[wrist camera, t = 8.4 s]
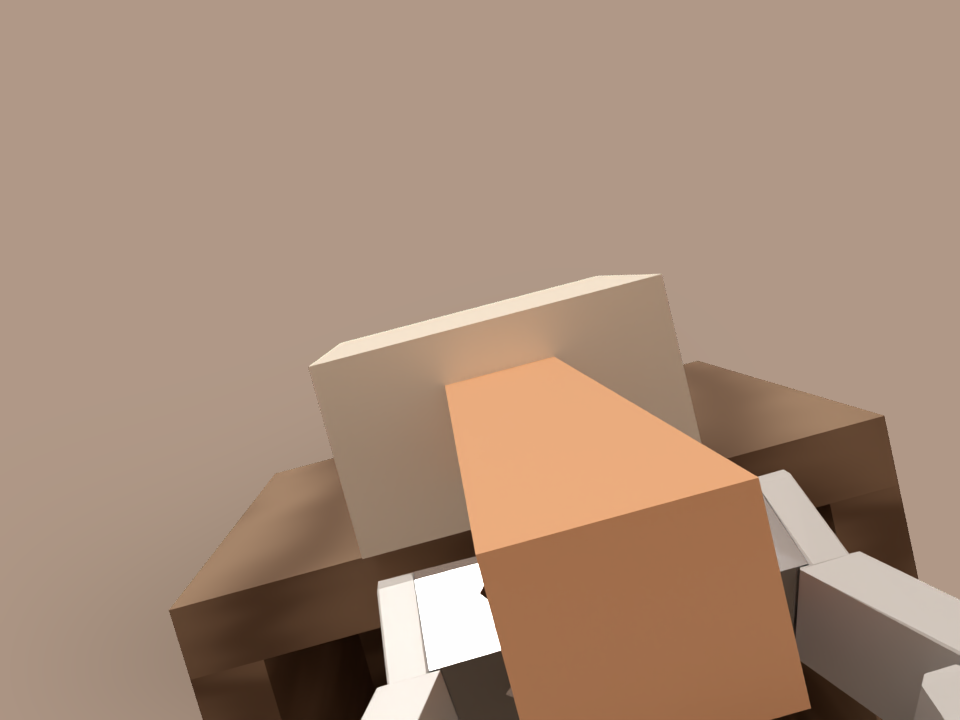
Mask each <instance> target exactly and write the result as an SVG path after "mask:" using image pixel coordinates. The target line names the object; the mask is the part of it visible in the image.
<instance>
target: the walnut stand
mask: <svg viewBox="0 0 960 720" xmlns="http://www.w3.org/2000/svg"><path fill="white" fill-rule="evenodd" d="M683 366H684V371H685V375H686V379H687V384H688V388H689V392H690V396H691V401H692V405H693V409H694V414H695V418H696V422H697V426H698V431H699V435H700V439H701V444H703V445H705V446H706V447H708V448H710V449H711V450H713V451H715V452H716V453H718V454H720V455H721V456H723V457H725V458H727V459H728V460H730V461H732V462H733V463H735V464H737V465H738V466H740V467H742V468H743V469H745V470H747V471H749V472H750V473H752V474H754V475H755V476H757V477H759V476H762V475H766V474H769V473H773V472H776V471H780V470H785V471H787V472H789V473H790V474H791V475H792V476H793V478H794V479H795V481H796V482H797V483H798V485H799V486H800V487H801V489H802V490H803V491H804V493H805V494H806V496H807V497H808V498H809V500H810V501H811V502H812V504H813V505H814V506H815V508H816V509H817V511H818V512H819V513H820V515H821V516H822V517H823V519H824V520H825V522H826V523H827V524H828V526H829V527H830V528H831V530H832V531H833V532H834V534H835V535H836V537H837V538H838V539H839V541H840V542H841V543H842V545H843V546H844V547H845V549H846V550H847V552H848V553H849V554H850V553H854V552H859V551H860V552H862V553H864V554H866V555H868V556H870V557H872V558H875V559H877V560H879V561H881V562H883V563H885V564H887V565H889V566H891V567H893V568H895V569H897V570H899V571H901V572H903V573H906V574H908V575H910V576H912V577H914V578H916V579H918V575H917V570H916V566H915V561H914V556H913V551H912V547H911V542H910V537H909V533H908V527H907V522H906V518H905V513H904V508H903V503H902V498H901V494H900V489H899V484H898V479H897V475H896V470H895V465H894V460H893V456H892V450H891V446H890V441H889V436H888V431H887V426H886V422H885V417H884V416H883V415H880V414H877V413H873V412H870V411H866V410H863V409H860V408H856V407H852V406H849V405H846V404H843V403H839V402H836V401H833V400H829V399H826V398H822V397H819V396H815V395H812V394H808V393H805V392H802V391H798V390H795V389H791V388H788V387H785V386H782V385H778V384H775V383H771V382H768V381H765V380H761V379H758V378H754V377H751V376H748V375H744V374H741V373H737V372H734V371H730V370H727V369H724V368H720V367H717V366H714V365H710V364H707V363H703V362H700V361H696V362H692V363H688V364H684V365H683ZM475 556H476V554H475V549H474V543H473V538H472V532H471V530H468V531H464V532H461V533H457V534H453V535H450V536H446V537H442V538H439V539H435V540H431V541H428V542H424V543H420V544H417V545H413V546H409V547H406V548H402V549H398V550H395V551H391V552H387V553H384V554H380V555H376V556H373V557H369V558H365V559H362V556H361V552H360V549H359V545H358V542H357V538H356V535H355V531H354V528H353V524H352V521H351V517H350V514H349V510H348V506H347V503H346V499H345V496H344V492H343V489H342V485H341V482H340V478H339V475H338V471H337V468H336V464H335V460H334V458H332V459H328V460H325V461H321V462H317V463H314V464H310V465H306V466H302V467H299V468H295V469H291V470H288V471H283V472H280V473H276V474H275V475H274V476H273V477H272V479H271V480H270V481H269V482H268V484H267V485H266V486H265V488H264V489H263V490H262V491H261V493H260V494H259V495H258V497H257V498H256V499H255V500H254V502H253V503H252V504H251V506H250V507H249V508H248V510H247V511H246V512H245V513H244V515H243V516H242V517H241V518H240V520H239V521H238V522H237V523H236V525H235V526H234V527H233V529H232V530H231V531H230V532H229V534H228V535H227V536H226V538H225V539H224V540H223V541H222V543H221V544H220V545H219V547H218V548H217V549H216V551H215V552H214V553H213V554H212V556H211V557H210V558H209V559H208V561H207V562H206V563H205V565H204V566H203V567H202V569H201V570H200V571H199V572H198V574H197V575H196V576H195V577H194V579H193V580H192V581H191V583H190V584H189V585H188V586H187V588H186V589H185V590H184V592H183V593H182V594H181V595H180V597H179V598H178V599H177V601H176V602H175V603H174V604H173V606H172V607H171V608H170V610H169V612H170V615H171V619H172V621H173V625H174V628H175V631H176V635H177V638H178V641H179V644H180V648H181V651H182V654H183V657H184V660H185V663H186V667H187V670H188V673H189V676H190V680H191V683H192V686H193V689H194V692H195V696H196V699H197V702H198V705H199V709H200V712H201V715H202V718H203V720H361V719H362V717H363V715H364V713H365V711H366V709H367V707H368V705H369V703H370V701H371V699H372V697H373V695H374V693H375V691H376V689H377V688H378V687H381V686H384V685H387V677H386V668H385V659H384V650H383V641H382V632H381V623H380V614H379V605H378V596H377V588H378V581H382V580H386V579H389V578H393V577H397V576H401V575H405V574H409V573H413V572H415V571H419V570H423V569H427V568H431V567H435V566H439V565H443V564H447V563H451V562H455V561H459V560H463V559H467V558H471V557H475ZM801 666H802V670H803V675H804V679H805V683H806V688H807V692H808V697H809V701H810V705H811V708H810V709H807V710H803V711H800V712H796V713H793V714H789V715H786V716H782V717H779V718H775V719H772V720H883V719H881V718H880V717H878V716H877V715H876V714H874V713H873V712H871V711H870V710H869V709H867V708H866V707H864V706H863V705H862V704H860V703H859V702H857V701H856V700H855V699H853V698H852V697H850V696H849V695H848V694H846V693H845V692H843V691H842V690H841V689H839V688H838V687H836V686H835V685H834V684H832V683H831V682H829V681H828V680H827V679H825V678H824V677H822V676H821V675H819V674H818V673H817V672H815V671H814V670H812V669H811V668H810V667H808V666H807V665H805V664H804V663H803V662H801Z"/></svg>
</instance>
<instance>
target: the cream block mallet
mask: <svg viewBox="0 0 960 720" xmlns="http://www.w3.org/2000/svg"><path fill="white" fill-rule="evenodd" d="M308 368H309V372H310V376H311V379H312V382H313V386H314V390H315V393H316V397H317V400H318V404H319V407H320V411H321V414H322V417H323V422H324V425H325V429H326V432H327V436H328V439H329V443H330V446H331V450H332V453H333V457H334V460H335V464H336V468H337V471H338V475H339V478H340V482H341V485H342V489H343V492H344V496H345V499H346V503H347V506H348V510H349V514H350V517H351V521H352V524H353V528H354V531H355V535H356V538H357V542H358V545H359V549H360V552H361V556H362V559H365V558H369V557H373V556H376V555H380V554H384V553H387V552H391V551H395V550H398V549H402V548H406V547H409V546H413V545H417V544H420V543H424V542H428V541H431V540H435V539H439V538H442V537H446V536H450V535H453V534H457V533H461V532H464V531H468V530H471V532H472V538H473V543H474V549H475V554H476V558H477V562H478V566H479V569H480V573H481V577H482V581H483V584H484V588H485V592H486V596H487V599H488V603H489V607H490V611H491V614H492V618H493V622H494V626H495V629H496V633H497V637H498V641H499V644H500V648H501V652H502V656H503V659H504V663H505V667H506V671H507V674H508V678H509V682H510V685H511V689H512V693H513V697H514V700H515V704H516V708H517V712H518V715H519V719H520V720H772V719H775V718H779V717H782V716H786V715H789V714H793V713H796V712H800V711H803V710H807V709H810V708H811V705H810V701H809V697H808V692H807V688H806V683H805V679H804V675H803V670H802V666H801V661H800V657H799V653H798V648H797V644H796V639H795V635H794V631H793V626H792V622H791V617H790V613H789V609H788V604H787V600H786V595H785V591H784V587H783V582H782V578H781V573H780V569H779V565H778V560H777V556H776V551H775V547H774V543H773V538H772V534H771V529H770V525H769V521H768V516H767V512H766V507H765V503H764V499H763V494H762V490H761V485H760V481H759V477H757V476H755V475H754V474H752V473H750V472H749V471H747V470H745V469H743V468H742V467H740V466H738V465H737V464H735V463H733V462H732V461H730V460H728V459H727V458H725V457H723V456H721V455H720V454H718V453H716V452H715V451H713V450H711V449H710V448H708V447H706V446H705V445H703V444H701V439H700V435H699V431H698V426H697V422H696V418H695V414H694V409H693V405H692V401H691V396H690V392H689V388H688V384H687V379H686V375H685V371H684V366H683V363H682V358H681V354H680V349H679V346H678V341H677V337H676V332H675V328H674V324H673V319H672V315H671V311H670V307H669V302H668V299H667V294H666V290H665V285H664V281H663V277H662V274H649V275H648V274H647V275H646V274H645V275H609V276H594V277H591V278H587V279H583V280H579V281H576V282H572V283H568V284H564V285H560V286H556V287H552V288H549V289H545V290H541V291H537V292H533V293H530V294H526V295H522V296H518V297H514V298H510V299H507V300H503V301H499V302H496V303H491V304H487V305H484V306H480V307H476V308H472V309H468V310H465V311H461V312H457V313H454V314H450V315H445V316H442V317H438V318H434V319H430V320H426V321H423V322H419V323H415V324H411V325H407V326H403V327H400V328H396V329H392V330H388V331H384V332H381V333H377V334H373V335H369V336H365V337H361V338H358V339H354V340H350V341H346V342H342V343H340V344H339V345H337V346H336V347H335V348H333V349H332V350H330V351H329V352H328V353H326V354H325V355H324V356H322V357H321V358H320V359H318V360H317V361H316V362H314V363H313V364H311V365H310V366H309V367H308Z"/></svg>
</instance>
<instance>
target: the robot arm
mask: <svg viewBox="0 0 960 720" xmlns="http://www.w3.org/2000/svg"><path fill="white" fill-rule="evenodd" d="M759 481H760V485H761V490H762V494H763V499H764V503H765V507H766V512H767V516H768V521H769V525H770V529H771V534H772V538H773V543H774V547H775V551H776V556H777V560H778V565H779V569H780V573H781V578H782V582H783V587H784V591H785V595H786V600H787V604H788V609H789V613H790V617H791V622H792V626H793V631H794V635H795V639H796V644H797V648H798V653H799V657H800V661H801V662H803V663H804V664H805V665H807V666H808V667H810V668H811V669H812V670H814V671H815V672H817V673H818V674H819V675H821V676H822V677H824V678H825V679H827V680H828V681H829V682H831V683H832V684H834V685H835V686H836V687H838V688H839V689H841V690H842V691H843V692H845V693H846V694H848V695H849V696H850V697H852V698H853V699H855V700H856V701H857V702H859V703H860V704H862V705H863V706H864V707H866V708H867V709H869V710H870V711H871V712H873V713H874V714H876V715H877V716H878V717H880V718H881V719H883V720H960V600H959V599H957V598H955V597H953V596H951V595H949V594H947V593H945V592H943V591H941V590H939V589H937V588H934V587H932V586H930V585H928V584H926V583H924V582H922V581H920V580H918V579H916V578H914V577H912V576H910V575H908V574H906V573H903V572H901V571H899V570H897V569H895V568H893V567H891V566H889V565H887V564H885V563H883V562H881V561H879V560H877V559H875V558H872V557H870V556H868V555H866V554H864V553H862V552H860V551H859V552H854V553H850V554H849V553H848V552H847V550H846V549H845V547H844V546H843V545H842V543H841V542H840V541H839V539H838V538H837V537H836V535H835V534H834V532H833V531H832V530H831V528H830V527H829V526H828V524H827V523H826V522H825V520H824V519H823V517H822V516H821V515H820V513H819V512H818V511H817V509H816V508H815V506H814V505H813V504H812V502H811V501H810V500H809V498H808V497H807V496H806V494H805V493H804V491H803V490H802V489H801V487H800V486H799V485H798V483H797V482H796V481H795V479H794V478H793V476H792V475H791V474H790V473H789V472H787V471H785V470H780V471H776V472H773V473H769V474H766V475H762V476H759ZM377 596H378V605H379V614H380V623H381V632H382V641H383V650H384V659H385V668H386V677H387V685H384V686H381V687H378V688H377V689H376V691H375V693H374V695H373V697H372V699H371V701H370V703H369V705H368V707H367V709H366V711H365V713H364V715H363V717H362V719H361V720H520V719H519V715H518V712H517V708H516V704H515V700H514V697H513V693H512V689H511V685H510V682H509V678H508V674H507V671H506V667H505V663H504V659H503V656H502V652H501V648H500V644H499V641H498V637H497V633H496V629H495V626H494V622H493V618H492V614H491V611H490V607H489V603H488V599H487V596H486V592H485V588H484V584H483V581H482V577H481V573H480V569H479V566H478V562H477V558H476V556H475V557H471V558H467V559H463V560H459V561H455V562H451V563H447V564H443V565H439V566H435V567H431V568H427V569H423V570H419V571H415V572H413V573H409V574H405V575H401V576H397V577H393V578H389V579H386V580H382V581H378V588H377Z"/></svg>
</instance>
